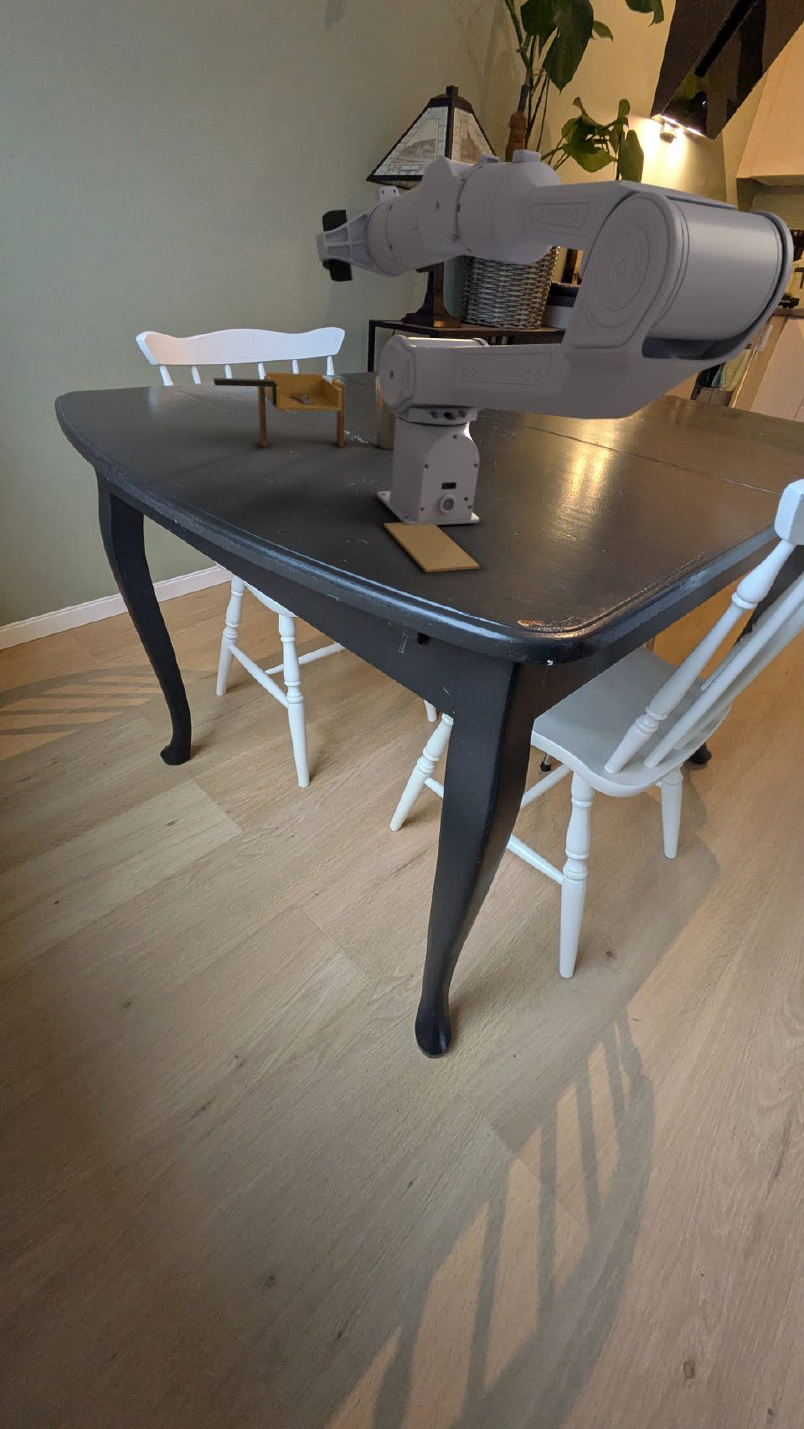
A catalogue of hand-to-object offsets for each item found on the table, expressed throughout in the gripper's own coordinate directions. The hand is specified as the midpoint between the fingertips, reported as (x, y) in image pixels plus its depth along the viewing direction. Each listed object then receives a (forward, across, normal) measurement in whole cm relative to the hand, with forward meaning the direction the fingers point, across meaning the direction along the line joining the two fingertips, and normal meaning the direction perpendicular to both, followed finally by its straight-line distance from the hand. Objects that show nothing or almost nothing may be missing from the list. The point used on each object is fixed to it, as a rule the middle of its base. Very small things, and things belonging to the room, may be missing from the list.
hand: (357, 253), depth 69 cm
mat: (-26, +8, +25) cm, 37 cm away
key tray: (+9, +10, +14) cm, 19 cm away
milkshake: (+7, -4, +21) cm, 23 cm away
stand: (+9, +7, +19) cm, 22 cm away
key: (+8, +7, +14) cm, 17 cm away
